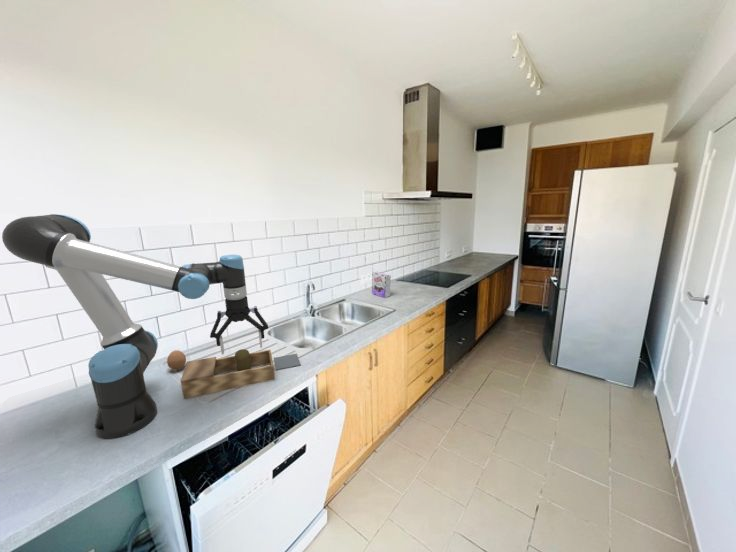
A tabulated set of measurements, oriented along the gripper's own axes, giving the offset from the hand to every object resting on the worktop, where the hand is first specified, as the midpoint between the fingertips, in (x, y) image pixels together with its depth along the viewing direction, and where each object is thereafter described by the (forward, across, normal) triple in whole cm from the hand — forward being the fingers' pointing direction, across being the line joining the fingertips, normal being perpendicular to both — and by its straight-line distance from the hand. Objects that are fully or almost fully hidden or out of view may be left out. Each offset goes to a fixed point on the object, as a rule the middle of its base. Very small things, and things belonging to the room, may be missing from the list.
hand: (242, 349), depth 115 cm
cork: (+12, 0, 0) cm, 12 cm away
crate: (+11, -5, 0) cm, 12 cm away
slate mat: (+12, +16, +4) cm, 21 cm away
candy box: (+13, +94, +74) cm, 120 cm away
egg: (+11, -26, +16) cm, 32 cm away
